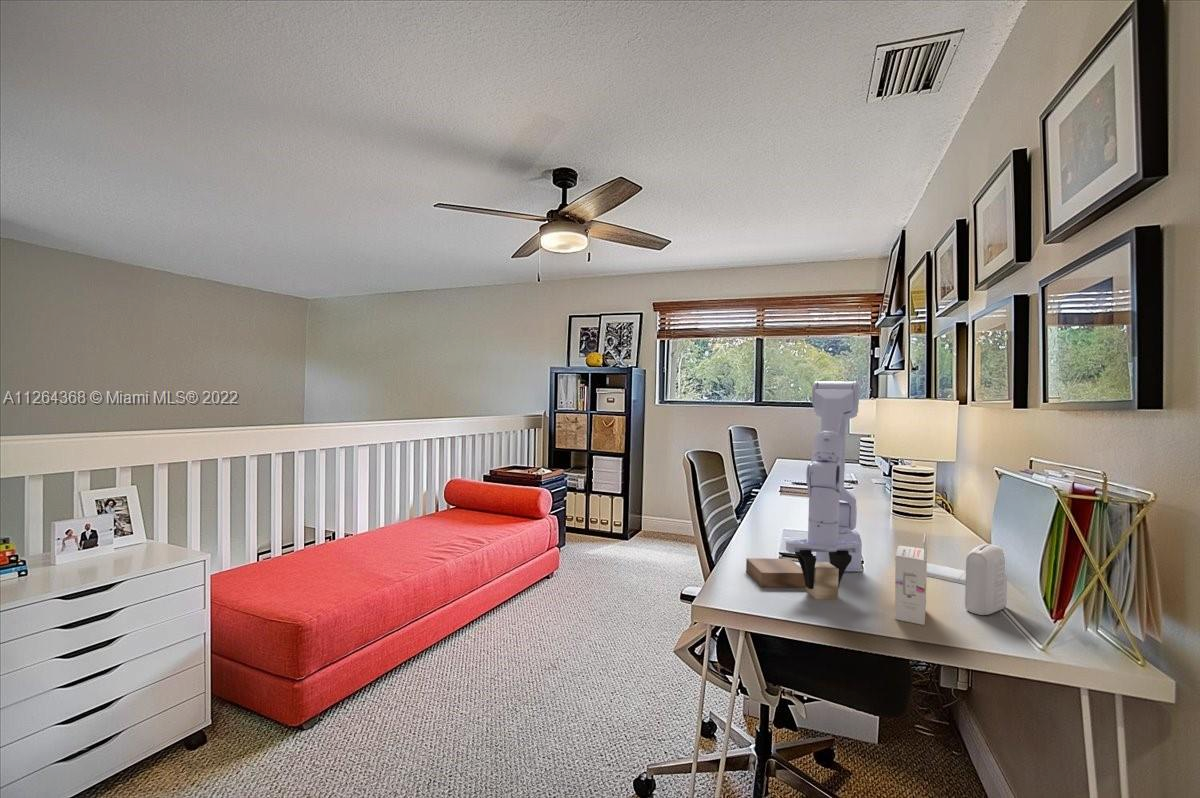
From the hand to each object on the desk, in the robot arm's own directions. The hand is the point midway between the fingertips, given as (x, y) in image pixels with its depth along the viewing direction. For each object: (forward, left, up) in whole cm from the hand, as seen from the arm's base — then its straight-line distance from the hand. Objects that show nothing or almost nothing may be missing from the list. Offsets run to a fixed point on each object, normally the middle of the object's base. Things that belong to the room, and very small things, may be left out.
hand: (821, 587), depth 108 cm
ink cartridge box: (-12, +10, -2) cm, 16 cm away
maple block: (0, 0, -2) cm, 2 cm away
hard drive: (-34, -14, -2) cm, 37 cm away
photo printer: (-29, +7, -2) cm, 30 cm away
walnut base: (+6, -9, -1) cm, 11 cm away
